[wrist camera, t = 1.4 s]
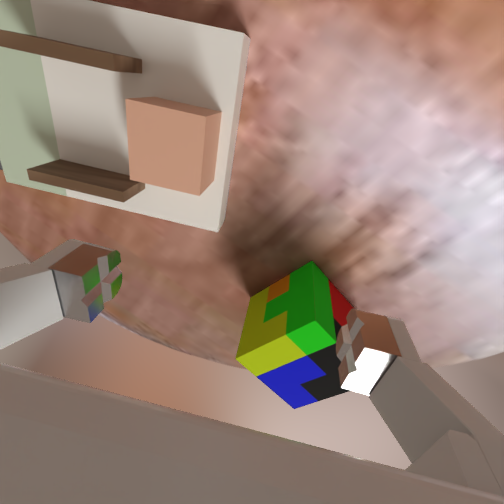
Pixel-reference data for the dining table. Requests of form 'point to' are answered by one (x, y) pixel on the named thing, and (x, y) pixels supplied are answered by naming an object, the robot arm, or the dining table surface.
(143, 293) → the dining table surface
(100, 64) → the channel walls
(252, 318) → the puzzle toy
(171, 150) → the block
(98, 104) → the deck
